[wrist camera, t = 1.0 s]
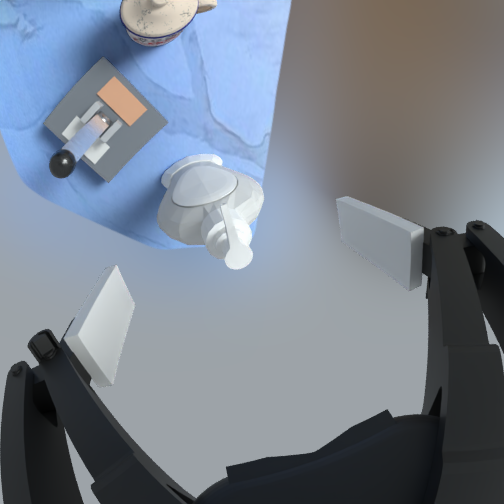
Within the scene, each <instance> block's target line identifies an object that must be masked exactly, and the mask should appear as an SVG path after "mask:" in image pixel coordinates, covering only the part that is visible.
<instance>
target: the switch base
mask: <svg viewBox="0 0 504 504" xmlns="http://www.w3.org/2000/svg"><path fill="white" fill-rule="evenodd" d="M100 111H102V112H103V113H104V114H105V115H106V116H107V117H108V118H109V119H110V120H111V121H112V123H111V124H110V125H109V126H108V127H107V128H106V129H105V131H104V132H103V133H102V134H101V135H100V136H99V137H98V138H97V139H96V140H95V142H94V143H93V144H92V145H91V146H90V147H89V148H88V150H87V151H86V152H85V153H84V154H83V156H82V157H81V159H82V160H83V161H84V162H85V163H86V164H88V165H89V166H90V167H91V168H92V169H93V170H94V171H95V172H97V173H98V174H99V175H100V176H101V177H102V178H103V179H104V180H106V181H107V182H108V183H109V182H110V181H111V180H112V179H113V178H114V176H115V175H116V174H117V173H118V172H119V171H120V170H121V169H122V168H123V167H124V166H125V164H126V163H127V162H128V161H129V160H130V159H131V158H132V157H133V156H134V155H135V154H136V153H137V152H138V151H139V150H140V149H141V148H142V147H143V146H144V145H145V144H146V143H147V142H148V141H149V140H150V139H151V138H152V137H153V136H154V135H155V134H157V133H158V132H159V131H160V130H161V129H162V128H163V127H164V126H165V125H166V124H167V123H168V121H167V120H166V119H165V118H164V117H163V116H162V115H161V114H160V112H159V111H158V110H157V109H156V108H155V107H154V106H153V105H152V104H151V103H150V102H149V101H148V100H147V99H146V98H145V97H144V96H143V95H142V94H141V93H140V92H139V91H138V90H137V89H136V88H135V87H134V86H133V85H132V84H131V83H130V82H129V81H128V80H127V79H126V78H125V77H124V76H123V75H122V74H121V73H120V72H119V71H118V70H117V69H116V68H115V67H114V66H113V65H112V64H111V63H110V62H109V61H108V60H107V59H106V58H105V57H102V58H101V59H100V60H99V61H98V62H97V63H96V64H95V65H94V66H93V67H92V68H91V69H90V70H89V71H88V72H87V73H86V74H85V75H84V76H83V77H82V78H81V79H80V80H79V81H78V82H77V83H76V84H75V85H74V86H73V88H72V89H71V90H70V91H69V92H68V93H67V94H66V96H65V97H64V98H63V99H62V100H61V101H60V103H59V104H58V105H57V106H56V108H55V109H54V110H53V111H52V113H51V114H50V115H49V116H48V118H47V119H46V120H45V122H44V123H43V124H44V125H45V126H46V127H47V128H49V129H50V130H51V131H52V132H53V133H54V134H55V135H56V136H57V137H58V138H59V139H60V140H61V141H62V142H63V143H65V144H66V143H67V142H68V141H69V140H70V139H71V138H72V137H73V136H74V135H75V134H76V133H77V132H78V131H79V130H80V129H81V128H82V127H84V126H85V125H86V124H87V123H88V122H89V121H90V120H91V119H92V118H93V117H94V116H95V115H97V114H98V113H99V112H100Z"/></svg>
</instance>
